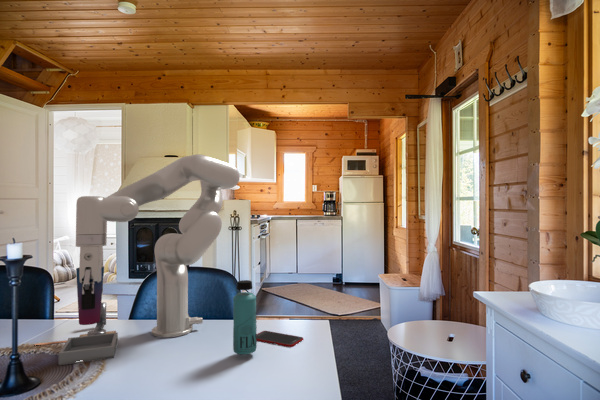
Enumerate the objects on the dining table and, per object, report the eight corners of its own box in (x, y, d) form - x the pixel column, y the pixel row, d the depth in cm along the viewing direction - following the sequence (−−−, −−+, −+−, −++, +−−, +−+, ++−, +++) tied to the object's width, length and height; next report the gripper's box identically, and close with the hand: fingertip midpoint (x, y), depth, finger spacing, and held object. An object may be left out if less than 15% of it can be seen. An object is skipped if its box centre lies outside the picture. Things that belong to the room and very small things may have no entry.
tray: (117, 342, 113) (117, 332, 113) (113, 357, 101) (113, 346, 101) (68, 348, 108) (68, 338, 108) (58, 365, 96) (58, 353, 96)
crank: (104, 337, 115) (105, 313, 115) (86, 339, 113) (86, 315, 113) (110, 322, 130) (110, 301, 130) (93, 324, 128) (93, 303, 128)
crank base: (115, 332, 122) (115, 330, 122) (113, 340, 115) (113, 338, 115) (38, 341, 114) (38, 339, 114) (30, 350, 107) (30, 348, 107)
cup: (91, 326, 100) (92, 269, 101) (69, 325, 102) (70, 269, 102) (108, 319, 107) (109, 266, 108) (87, 318, 108) (88, 265, 109)
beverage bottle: (237, 362, 97) (236, 283, 98) (229, 353, 103) (229, 279, 104) (260, 357, 100) (260, 281, 101) (252, 349, 106) (251, 277, 107)
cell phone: (264, 333, 122) (264, 330, 122) (304, 340, 114) (304, 337, 114) (249, 340, 115) (249, 337, 115) (291, 348, 108) (291, 345, 108)
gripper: (102, 242, 99) (101, 312, 98) (109, 238, 115) (108, 298, 114) (69, 243, 96) (68, 315, 95) (81, 239, 112) (80, 300, 111)
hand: (90, 305), depth 105 cm, fingers closed on cup, 6 cm apart
